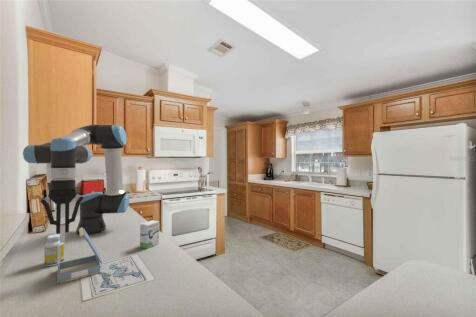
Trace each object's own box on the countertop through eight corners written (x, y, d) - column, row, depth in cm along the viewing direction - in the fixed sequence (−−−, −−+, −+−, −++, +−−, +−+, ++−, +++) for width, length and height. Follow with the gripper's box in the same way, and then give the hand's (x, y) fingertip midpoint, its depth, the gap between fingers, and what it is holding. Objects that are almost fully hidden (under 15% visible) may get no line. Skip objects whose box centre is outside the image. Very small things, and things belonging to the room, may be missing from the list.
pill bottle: (63, 258, 100) (63, 232, 100) (65, 263, 95) (65, 235, 95) (43, 263, 95) (43, 235, 95) (45, 268, 91) (45, 239, 91)
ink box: (146, 249, 110) (146, 225, 110) (139, 247, 112) (139, 223, 112) (159, 243, 118) (159, 220, 118) (152, 241, 120) (152, 219, 120)
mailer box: (58, 270, 89) (58, 262, 89) (96, 261, 97) (96, 254, 97) (57, 284, 79) (57, 275, 79) (100, 272, 87) (100, 265, 87)
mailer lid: (78, 228, 93) (82, 226, 94) (95, 255, 96) (98, 252, 97) (80, 236, 83) (84, 234, 84) (98, 265, 87) (102, 263, 88)
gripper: (39, 180, 78) (38, 248, 78) (84, 179, 86) (84, 240, 86) (41, 179, 84) (40, 242, 84) (83, 177, 92) (82, 235, 92)
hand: (62, 241), depth 85 cm, fingers closed
